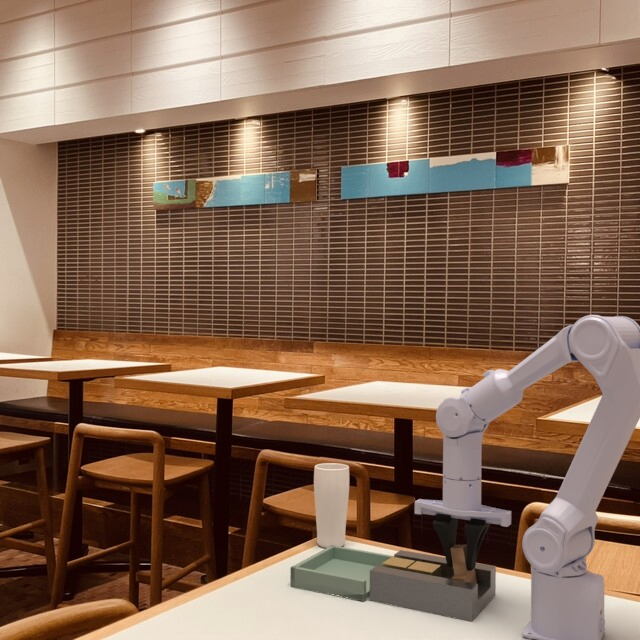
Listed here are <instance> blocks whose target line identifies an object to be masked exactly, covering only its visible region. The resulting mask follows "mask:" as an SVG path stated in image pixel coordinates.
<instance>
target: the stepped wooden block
mask: <svg viewBox="0 0 640 640" xmlns="http://www.w3.org/2000/svg"><path fill="white" fill-rule="evenodd" d="M450 549H451V556H452V562H453V569H454V576H453V577H452V578H451V579H453V580H459V581H464V582H470V583H475V584H477V581H476V575H475V569H473V570H472V571H469V570H467V567H466V559H467V544H456V545H454V546H453V547H451V548H450Z"/></svg>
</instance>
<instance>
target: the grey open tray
mask: <svg viewBox="0 0 640 640" xmlns="http://www.w3.org/2000/svg"><path fill="white" fill-rule="evenodd" d="M393 556H394V557H397V558H402V559H408V560H414V561H415V562H416V561H419V562H425V563H431V564H437V565H441V577H437V576H431V575H426V574H420V573H415V572H409V571H404V570H399V569H393V568H388V567H382V566H376V567H374V568H373V569H371V570H370V597H369V601H371V600H373V601H372V602H376V601H378V603H381V602H382V604H386V603H387V605H390V604H392V606H395V605H397V606H396V607H400V606H401V607H400V608H405V607H406V609H409V608H410V610H414V609H415V610H414V611H419V610H420V612H424V613H430V614H433V615H438V616H443V615H444V616H443V617H448V616H450V617H449V618H453V617H455V618H454V619H457V618H460V619H459V620H462V619H463V620H462V621H467V622H473V620H475V618H476V617H478V615H479V614H480V613H481V612H482V611H483V610H484V609H485V608H486V606H487V605H488V604H489V603H490V602H491V601H492V600H493V599H494V597H495V596H496V588H497V587H496V578H497V577H496V576H497V573H496V572H497V570H496V569H497V565H491V564H485V563H479V562H476V565H475V568H474V569H475V575H476V581H477V584H475V583H470V582H464V581H459V580H453V579H451V578H452V577H453V576H454V569H453V566H452V567H447V562H446V557H444V556H438V555H433V554H431V555H430V554H427V553H426V554H425V553H421V552H414V551H410V550H409V551H408V550H402V549H401V550H400V549H399V551H397V552H396V553H394V555H393Z"/></svg>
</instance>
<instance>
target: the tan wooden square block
mask: <svg viewBox="0 0 640 640" xmlns="http://www.w3.org/2000/svg"><path fill="white" fill-rule="evenodd" d="M414 563H415V561H414V560H408V559H402V558H397V557H391V558H389V559H388V560H386V561H385V562H383V563H382V567H388V568H393V569H399V570H404V571H407V568H408V567H410V566H411V565H412V564H414Z"/></svg>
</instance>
